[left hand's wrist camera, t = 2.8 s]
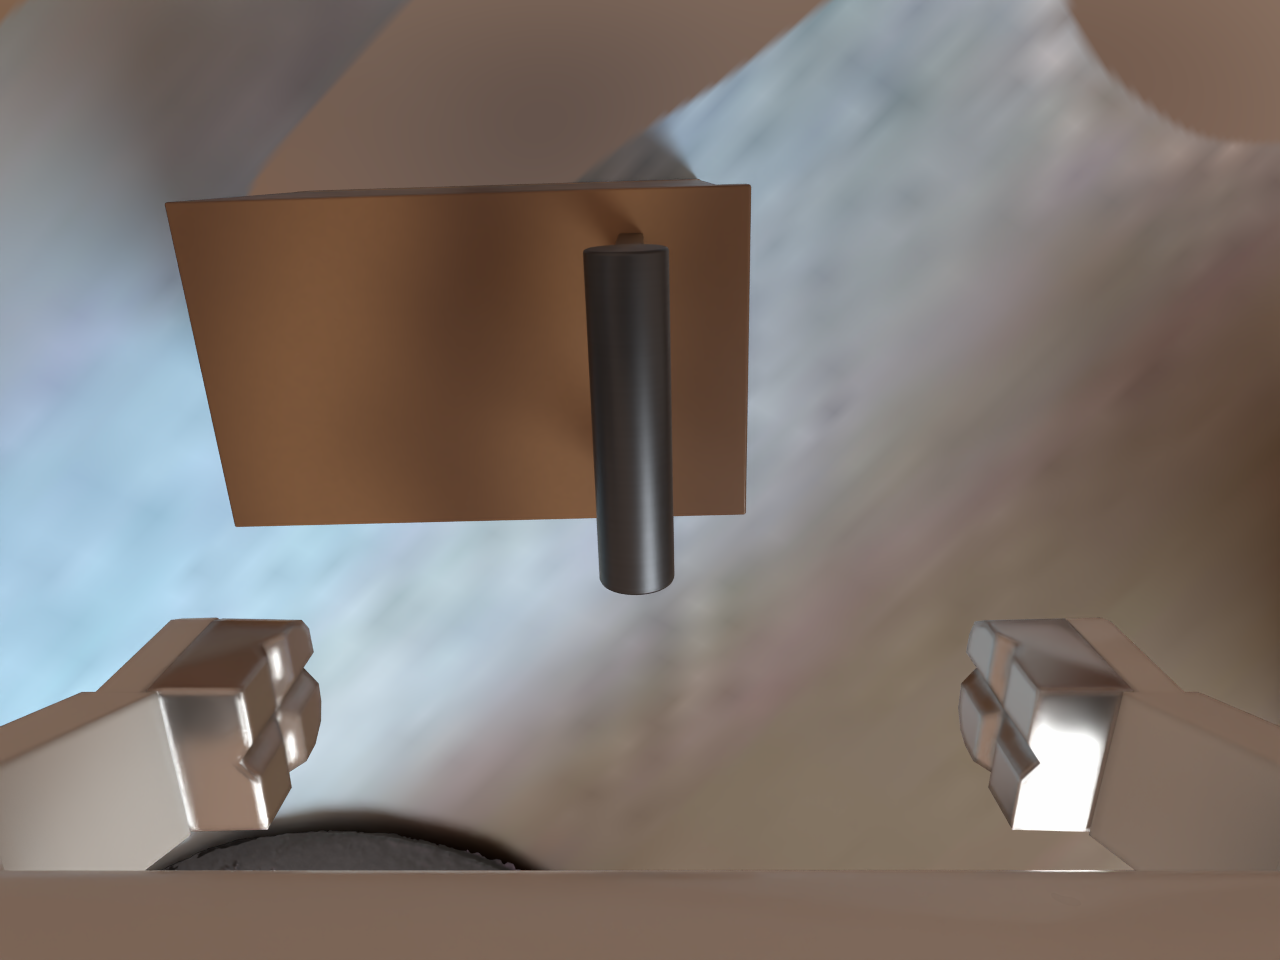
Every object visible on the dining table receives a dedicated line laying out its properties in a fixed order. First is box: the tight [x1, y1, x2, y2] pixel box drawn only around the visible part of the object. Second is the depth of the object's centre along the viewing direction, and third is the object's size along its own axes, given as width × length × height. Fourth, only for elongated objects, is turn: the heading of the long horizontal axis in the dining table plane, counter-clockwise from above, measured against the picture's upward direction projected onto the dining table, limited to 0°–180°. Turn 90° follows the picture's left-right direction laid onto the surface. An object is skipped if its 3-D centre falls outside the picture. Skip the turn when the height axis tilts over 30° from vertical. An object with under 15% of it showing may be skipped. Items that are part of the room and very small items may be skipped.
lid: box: [165, 184, 751, 595], centre depth 22 cm, size 16×10×8 cm, turn 92°
